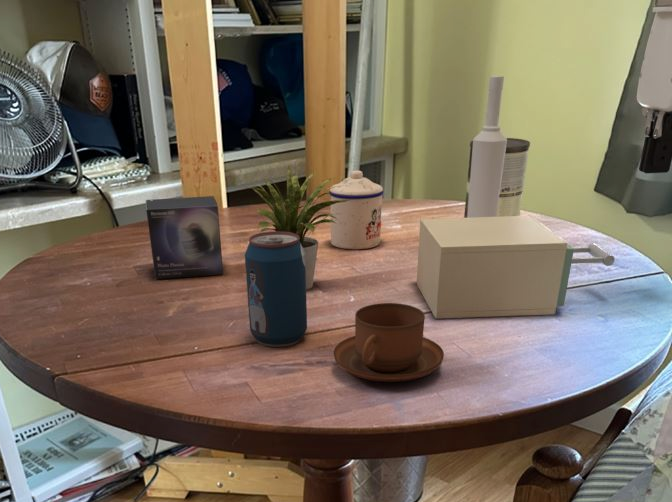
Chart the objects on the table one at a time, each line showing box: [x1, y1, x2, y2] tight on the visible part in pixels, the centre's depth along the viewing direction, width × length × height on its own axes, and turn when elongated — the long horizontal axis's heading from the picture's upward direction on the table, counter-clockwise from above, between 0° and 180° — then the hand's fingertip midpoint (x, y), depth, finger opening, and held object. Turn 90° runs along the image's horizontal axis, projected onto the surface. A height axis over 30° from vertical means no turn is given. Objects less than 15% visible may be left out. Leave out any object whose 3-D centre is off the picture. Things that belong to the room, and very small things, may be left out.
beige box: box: [415, 215, 568, 320], centre depth 94 cm, size 16×15×9 cm
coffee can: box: [463, 137, 531, 218], centre depth 127 cm, size 10×10×14 cm
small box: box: [145, 195, 224, 280], centre depth 107 cm, size 11×6×10 cm, turn 102°
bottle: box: [467, 75, 508, 218], centre depth 111 cm, size 5×5×25 cm
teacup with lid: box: [328, 170, 384, 250], centre depth 120 cm, size 12×9×12 cm
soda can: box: [244, 231, 308, 348], centre depth 82 cm, size 7×7×12 cm
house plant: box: [246, 165, 351, 291], centre depth 97 cm, size 14×14×16 cm
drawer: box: [556, 243, 616, 307], centre depth 94 cm, size 22×13×7 cm, turn 93°
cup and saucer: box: [333, 302, 445, 383], centre depth 76 cm, size 12×12×6 cm
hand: (653, 171), depth 88 cm, fingers closed
